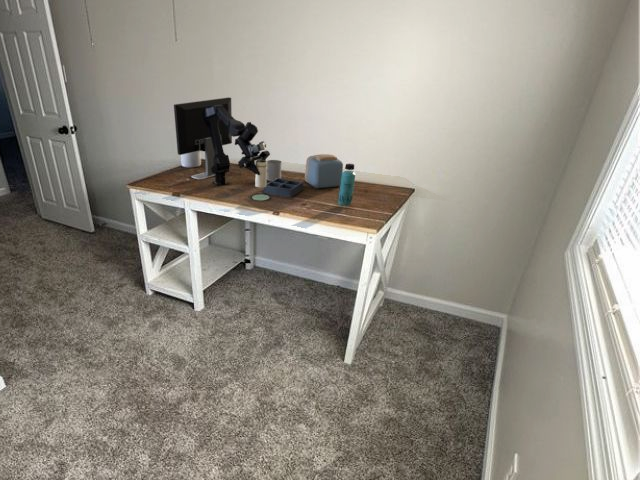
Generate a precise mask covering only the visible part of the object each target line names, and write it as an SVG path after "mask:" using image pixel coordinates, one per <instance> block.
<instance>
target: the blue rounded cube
mask: <svg viewBox="0 0 640 480" xmlns="http://www.w3.org/2000/svg"><path fill="white" fill-rule="evenodd" d="M304 170H305V171H304V181H305V182H306V183H307V184H309V185H310V186H311V187H313V188H315V189H317V190H318V189H328V188H337V187H340V184H341V178H342V173H343V172H344V163H343V162H342V161H341V160H340V159H339V158H338V157H337V156H336V155H334V154H328V153H327V154H326V153H325V154H324V153H321V154H314V155H310V156H307V158H306V162H305V169H304Z"/></svg>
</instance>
